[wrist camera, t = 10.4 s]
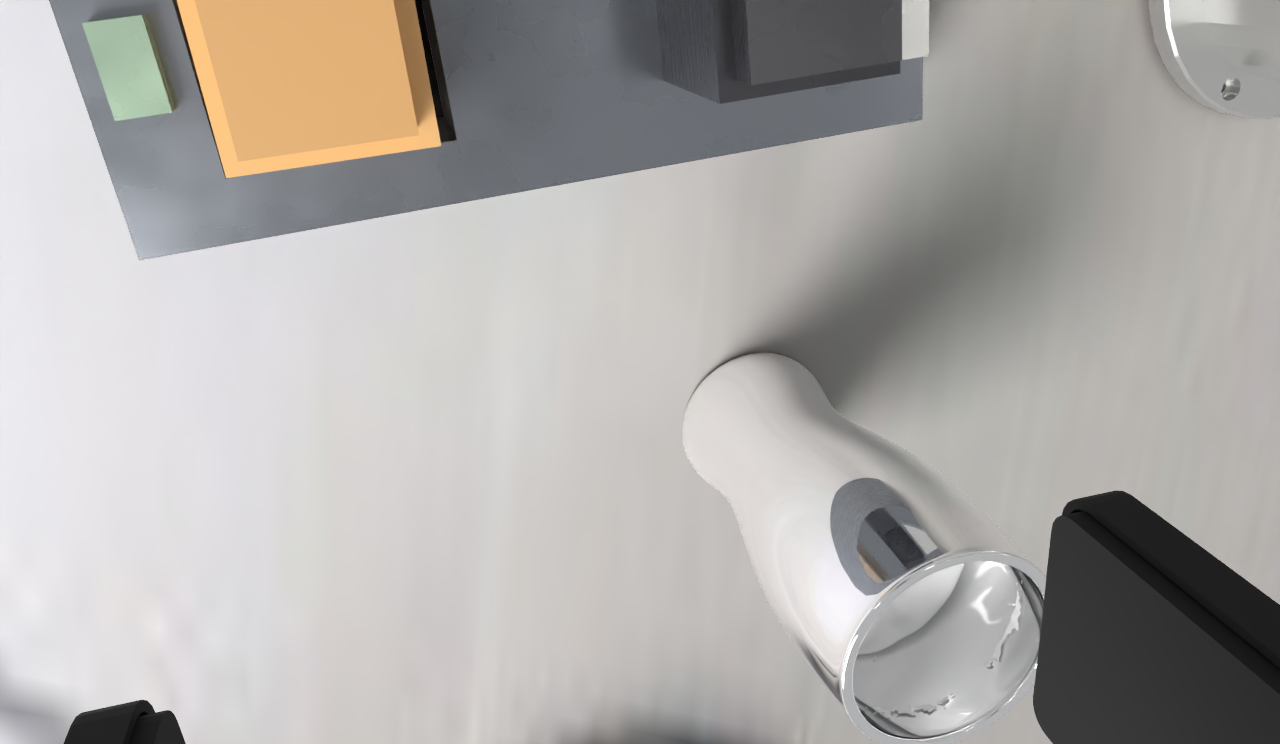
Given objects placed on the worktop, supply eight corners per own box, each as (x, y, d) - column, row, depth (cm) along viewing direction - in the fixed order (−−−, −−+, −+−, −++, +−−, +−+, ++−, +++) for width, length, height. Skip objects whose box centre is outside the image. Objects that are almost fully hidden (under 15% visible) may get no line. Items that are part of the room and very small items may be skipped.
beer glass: (637, 457, 39) (785, 718, 26) (733, 311, 38) (942, 506, 24) (769, 519, 42) (962, 783, 29) (862, 386, 41) (1111, 597, 27)
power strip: (854, -216, 32) (1064, -287, 22) (861, 100, 36) (1040, 152, 26) (51, -130, 27) (-109, -175, 18) (166, 220, 31) (87, 335, 22)
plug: (387, -71, 30) (402, -82, 21) (419, 97, 32) (444, 153, 23) (214, -53, 29) (152, -56, 20) (259, 120, 31) (220, 187, 22)
